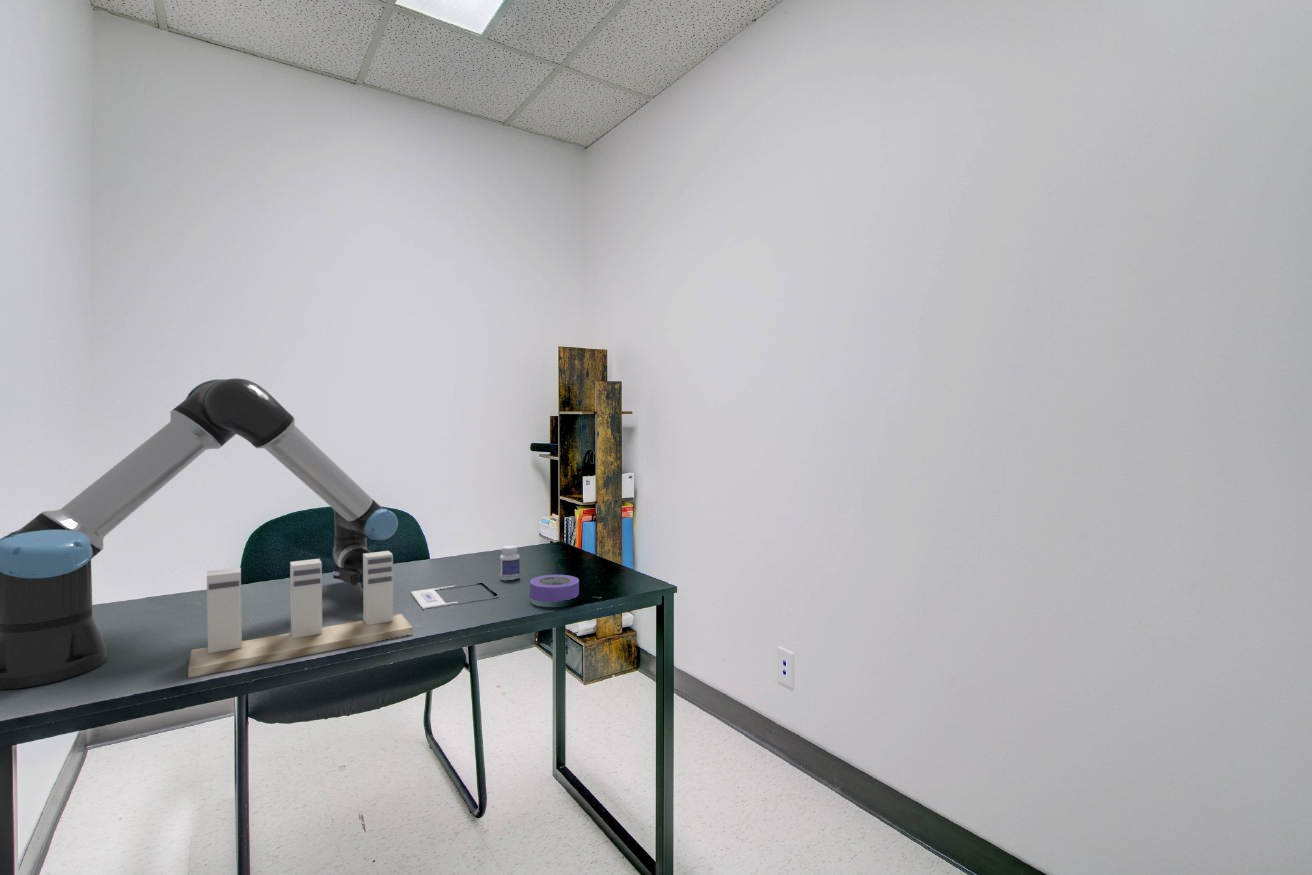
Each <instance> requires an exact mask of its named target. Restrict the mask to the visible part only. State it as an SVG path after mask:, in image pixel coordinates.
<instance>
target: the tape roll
mask: <svg viewBox="0 0 1312 875" xmlns="http://www.w3.org/2000/svg"><path fill="white" fill-rule="evenodd" d="M578 595H579V596H580V580H579V578H578V577H576V576H573V575H568V574H566V575H565V574H546V575H545V574H544V575H539V576H536V577H533V578H532V579H530V581H529V599H530V598H532V599H533V600H537V601H542V602H559V601H563V600H570V599H573V598H576V597H577V596H578Z"/></svg>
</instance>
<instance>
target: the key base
mask: <svg viewBox="0 0 1312 875" xmlns="http://www.w3.org/2000/svg"><path fill="white" fill-rule="evenodd" d="M413 634H414V627H413V626H412V624H410V622H409V621H408V620H407V619H406V618H405V616H404V615H403V614H402V613H400V614H399V613H398V614H393V621H390V622H384V623H378V624H373V625H366V623H365V622H364V620H359V621H353V622H346V623H340V624H335V625H329V626H324V627H323V626H322V634H316V635H310V636H305V637H299V638H292V634H291V632H288V633H284V634H283V633H282V634H277V635H271V636H264V637H259V638H254V639H248V640H242V648H237V649H231V650H225V651H220V652H214V653H208V646H206V647H201V648H194V649H191V651H190V657H189V664H188V668H187V670H188V672H187V674H188V675H187V676H188V677H187V678H188V679H189V678H195V677H200V676H205V675H210V674H215V673H220V672H221V673H222V672H227V671H231V670H236V669H237V670H238V669H241V668H246V667H252V666H257V665H264V664H267V663H273V662H279V661H284V660H289V659H293V658H299V657H305V656H309V655H310V656H311V655H314V654H320V653H325V652H329V651H336V650H340V649H346V648H351V647H357V646H363V645H366V644H372V643H377V641H378V642H382V640H383V641H387V640H386V639H388V640H392V639H391V638H393V639H396V638H395V637H398V638H402V636H404V637H407V636H406V635H409V636H413Z"/></svg>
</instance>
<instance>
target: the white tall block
mask: <svg viewBox="0 0 1312 875" xmlns="http://www.w3.org/2000/svg"><path fill="white" fill-rule="evenodd" d="M289 564H290V565H289V568H290V569H289V571H290V575H289V577H290V580H289V581H290V633H291V634H292V638H299V637H305V636H310V635H316V634H322V627H323V573H322V572H323V569H322V568H323V563H322V561H321V558H314V559H313V558H311V559H304V560H295V561H290V562H289Z"/></svg>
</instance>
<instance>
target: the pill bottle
mask: <svg viewBox="0 0 1312 875" xmlns="http://www.w3.org/2000/svg"><path fill="white" fill-rule="evenodd" d="M501 551H502V553H501V555H500V556H499V577H500V576H501V577H516V576H518V575H519V574H521V573H520V571H521V570H520V567H521V566H520V565H521V564H520V563H521V562H520V555H519V553H517V552H518V546H516V545H513V544H512V545H504V546H502V548H501Z"/></svg>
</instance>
